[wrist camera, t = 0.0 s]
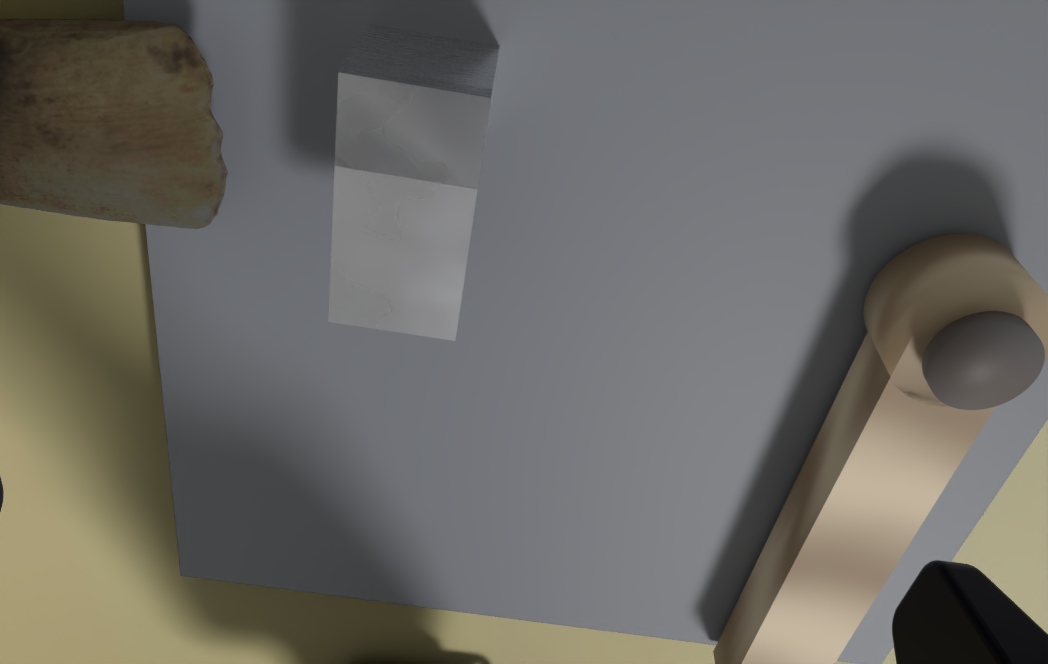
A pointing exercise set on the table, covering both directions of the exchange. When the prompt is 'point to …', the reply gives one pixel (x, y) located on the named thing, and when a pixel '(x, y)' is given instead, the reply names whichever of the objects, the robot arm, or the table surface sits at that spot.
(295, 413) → the pivot board
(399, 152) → the keeper
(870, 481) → the link
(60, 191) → the stone
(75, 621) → the table surface
